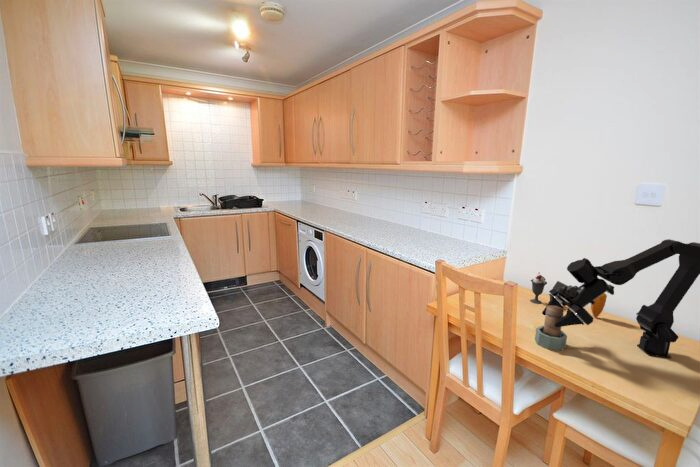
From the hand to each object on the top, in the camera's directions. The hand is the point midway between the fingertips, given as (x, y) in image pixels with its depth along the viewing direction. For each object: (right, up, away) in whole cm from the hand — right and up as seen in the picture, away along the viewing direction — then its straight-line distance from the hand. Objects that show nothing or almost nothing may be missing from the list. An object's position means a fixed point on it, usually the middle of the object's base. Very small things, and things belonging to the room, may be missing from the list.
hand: (548, 319), depth 110 cm
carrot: (+34, -5, +22) cm, 41 cm away
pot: (+1, -9, +2) cm, 9 cm away
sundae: (+18, -2, +38) cm, 42 cm away
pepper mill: (+1, -8, +1) cm, 9 cm away
